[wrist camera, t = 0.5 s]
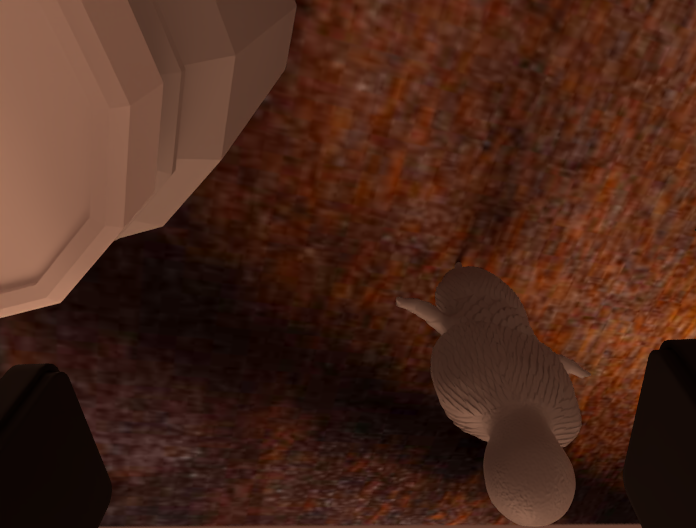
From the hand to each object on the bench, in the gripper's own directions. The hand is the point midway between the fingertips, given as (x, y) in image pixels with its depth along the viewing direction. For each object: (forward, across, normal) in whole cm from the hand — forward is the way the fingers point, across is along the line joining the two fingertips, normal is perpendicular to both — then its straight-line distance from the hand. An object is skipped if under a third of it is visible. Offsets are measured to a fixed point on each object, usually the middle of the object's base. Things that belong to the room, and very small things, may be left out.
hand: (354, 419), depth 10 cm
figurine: (+20, -5, +9) cm, 22 cm away
